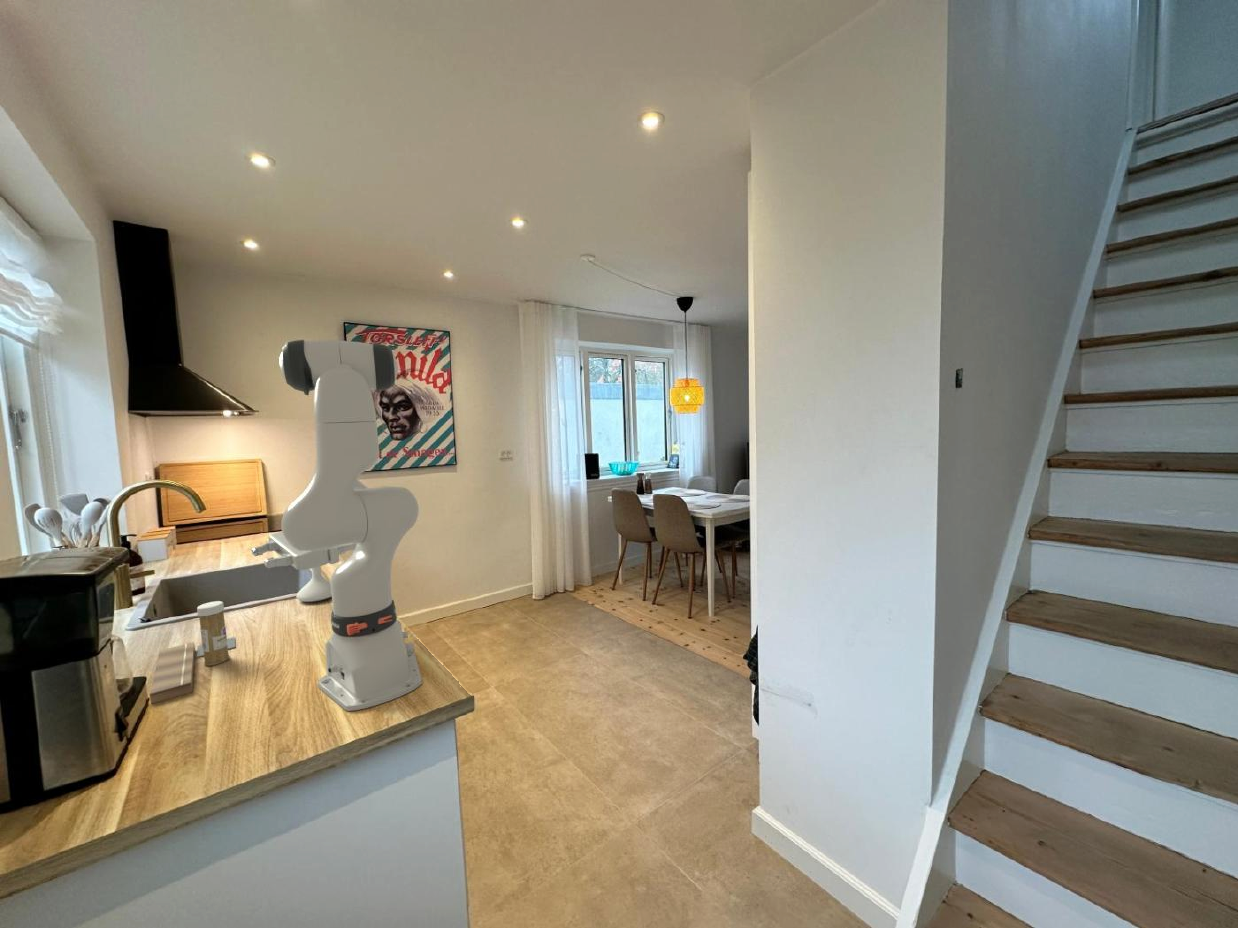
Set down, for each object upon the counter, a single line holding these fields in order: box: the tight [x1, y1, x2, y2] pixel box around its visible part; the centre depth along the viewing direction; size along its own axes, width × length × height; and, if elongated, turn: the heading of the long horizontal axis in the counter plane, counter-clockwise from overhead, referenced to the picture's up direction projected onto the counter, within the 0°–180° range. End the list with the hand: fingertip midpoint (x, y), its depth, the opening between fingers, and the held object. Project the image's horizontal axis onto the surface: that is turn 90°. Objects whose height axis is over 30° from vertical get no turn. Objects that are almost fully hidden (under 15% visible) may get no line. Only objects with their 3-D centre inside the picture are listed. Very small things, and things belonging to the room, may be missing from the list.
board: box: [149, 641, 196, 705], centre depth 106 cm, size 24×6×2 cm, turn 40°
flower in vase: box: [296, 566, 332, 602], centre depth 148 cm, size 13×11×25 cm
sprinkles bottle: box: [196, 600, 230, 667], centre depth 110 cm, size 5×5×13 cm
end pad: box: [196, 636, 237, 658], centre depth 118 cm, size 7×7×1 cm
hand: (258, 558), depth 114 cm, fingers open, 8 cm apart
